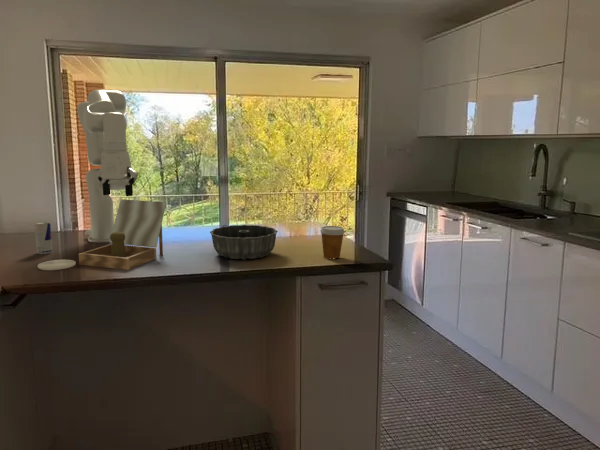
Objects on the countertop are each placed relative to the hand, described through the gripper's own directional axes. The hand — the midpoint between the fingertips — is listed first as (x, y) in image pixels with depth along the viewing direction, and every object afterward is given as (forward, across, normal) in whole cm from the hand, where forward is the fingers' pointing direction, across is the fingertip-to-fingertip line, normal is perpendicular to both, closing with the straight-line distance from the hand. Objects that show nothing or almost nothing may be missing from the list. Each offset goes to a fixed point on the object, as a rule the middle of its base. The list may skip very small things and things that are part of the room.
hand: (117, 195), depth 176 cm
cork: (+25, 0, -1) cm, 25 cm away
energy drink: (+24, -35, 0) cm, 43 cm away
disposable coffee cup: (+25, +72, +34) cm, 84 cm away
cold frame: (+24, 0, +3) cm, 25 cm away
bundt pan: (+25, +38, +26) cm, 52 cm away
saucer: (+24, -16, -14) cm, 33 cm away
